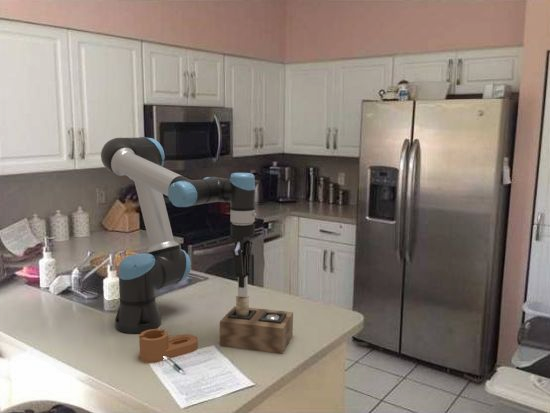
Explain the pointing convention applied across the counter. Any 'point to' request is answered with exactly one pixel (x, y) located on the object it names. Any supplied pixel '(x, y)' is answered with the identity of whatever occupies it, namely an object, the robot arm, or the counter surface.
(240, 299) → the birch dowel
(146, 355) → the bracket
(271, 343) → the walnut block
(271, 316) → the metal peg
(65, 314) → the counter surface
